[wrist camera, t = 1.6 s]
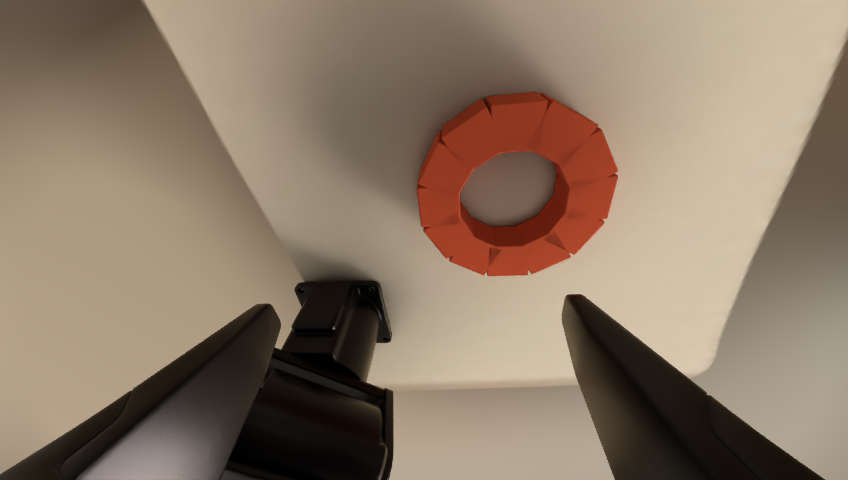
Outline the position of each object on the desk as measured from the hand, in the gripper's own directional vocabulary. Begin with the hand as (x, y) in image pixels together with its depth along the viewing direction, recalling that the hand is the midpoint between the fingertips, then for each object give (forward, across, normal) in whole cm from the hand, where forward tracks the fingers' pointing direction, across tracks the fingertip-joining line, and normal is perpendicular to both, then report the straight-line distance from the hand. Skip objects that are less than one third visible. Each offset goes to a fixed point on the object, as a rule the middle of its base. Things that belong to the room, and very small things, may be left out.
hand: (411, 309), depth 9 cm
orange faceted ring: (+10, -4, +1) cm, 11 cm away
